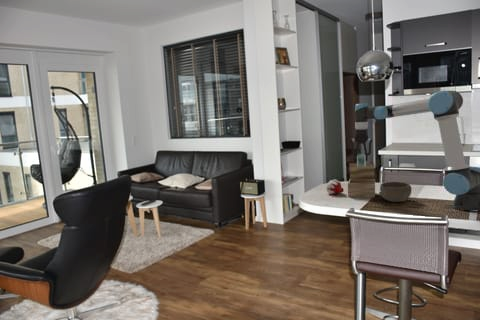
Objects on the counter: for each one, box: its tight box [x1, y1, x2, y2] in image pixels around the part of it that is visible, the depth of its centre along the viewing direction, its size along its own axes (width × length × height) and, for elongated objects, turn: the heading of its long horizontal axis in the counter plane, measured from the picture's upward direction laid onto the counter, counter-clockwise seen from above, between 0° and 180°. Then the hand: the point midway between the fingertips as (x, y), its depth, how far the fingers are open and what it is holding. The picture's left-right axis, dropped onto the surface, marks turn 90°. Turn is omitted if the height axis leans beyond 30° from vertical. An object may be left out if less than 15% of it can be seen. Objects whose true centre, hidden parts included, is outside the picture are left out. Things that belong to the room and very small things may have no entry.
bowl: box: [378, 181, 413, 203], centre depth 236 cm, size 17×18×10 cm
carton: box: [347, 178, 376, 199], centre depth 254 cm, size 14×16×9 cm
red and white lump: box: [326, 178, 344, 195], centre depth 259 cm, size 9×11×15 cm
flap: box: [348, 153, 376, 180], centre depth 252 cm, size 22×15×4 cm
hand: (361, 166), depth 247 cm, fingers closed on flap, 4 cm apart
